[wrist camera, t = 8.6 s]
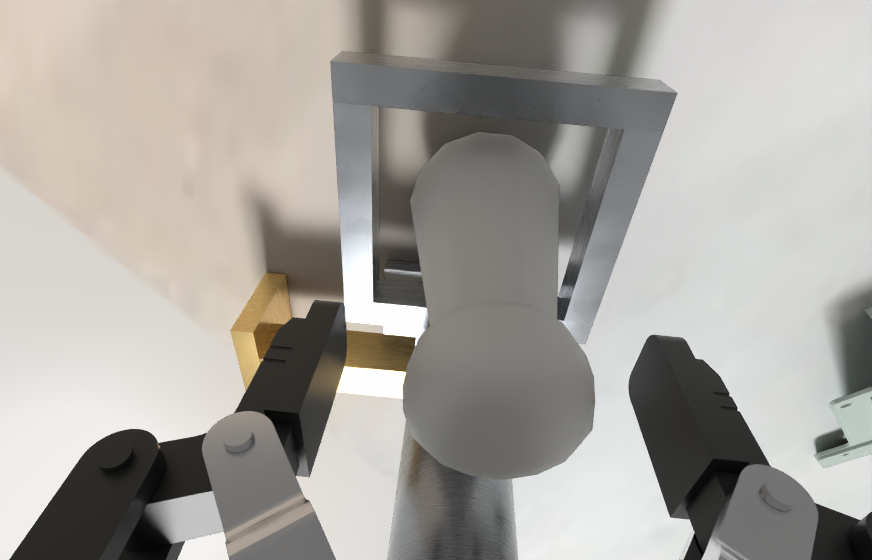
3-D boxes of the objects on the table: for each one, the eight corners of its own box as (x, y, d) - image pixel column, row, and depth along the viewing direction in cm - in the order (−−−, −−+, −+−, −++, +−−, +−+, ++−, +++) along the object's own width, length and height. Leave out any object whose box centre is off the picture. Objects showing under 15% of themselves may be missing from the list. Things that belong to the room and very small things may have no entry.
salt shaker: (443, 253, 22) (420, 526, 12) (395, 143, 19) (306, 382, 9) (564, 217, 21) (660, 494, 10) (533, 92, 18) (623, 307, 7)
